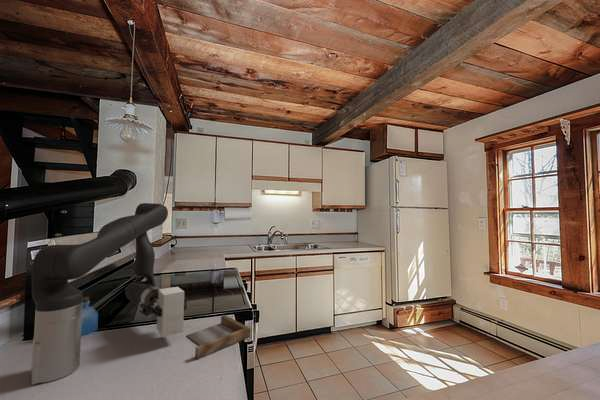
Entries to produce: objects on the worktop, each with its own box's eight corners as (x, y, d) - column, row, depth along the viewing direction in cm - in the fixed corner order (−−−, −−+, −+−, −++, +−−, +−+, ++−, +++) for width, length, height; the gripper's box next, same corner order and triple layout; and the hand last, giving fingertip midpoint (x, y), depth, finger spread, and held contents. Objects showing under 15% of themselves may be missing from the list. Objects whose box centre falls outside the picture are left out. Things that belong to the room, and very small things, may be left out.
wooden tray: (197, 359, 74) (197, 348, 74) (174, 340, 85) (174, 331, 85) (250, 337, 87) (250, 328, 87) (224, 323, 98) (224, 315, 98)
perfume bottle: (65, 335, 88) (67, 300, 88) (85, 328, 94) (87, 294, 94) (77, 338, 86) (79, 302, 86) (97, 330, 92) (98, 296, 92)
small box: (183, 332, 83) (184, 291, 84) (161, 338, 79) (163, 294, 80) (176, 324, 90) (178, 286, 91) (156, 329, 86) (158, 289, 86)
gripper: (133, 292, 90) (149, 303, 78) (175, 285, 100) (195, 293, 89) (132, 314, 89) (148, 329, 78) (174, 304, 100) (194, 316, 88)
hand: (173, 310), depth 83 cm, fingers closed on small box, 7 cm apart
